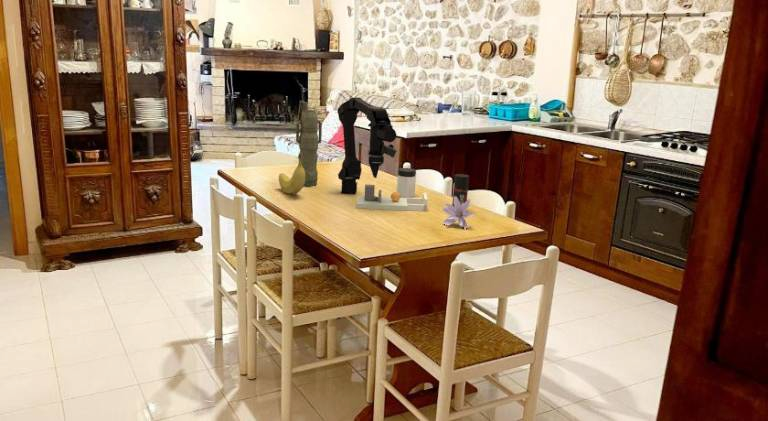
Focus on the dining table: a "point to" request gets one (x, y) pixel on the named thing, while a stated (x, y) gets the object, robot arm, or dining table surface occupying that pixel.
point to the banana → (293, 179)
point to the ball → (395, 196)
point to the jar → (406, 182)
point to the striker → (371, 193)
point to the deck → (382, 204)
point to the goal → (417, 203)
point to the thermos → (309, 145)
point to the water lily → (457, 213)
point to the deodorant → (460, 188)
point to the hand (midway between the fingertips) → (375, 175)
